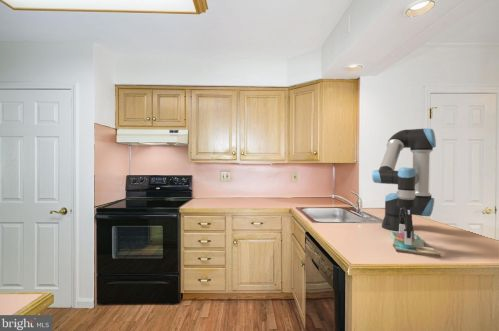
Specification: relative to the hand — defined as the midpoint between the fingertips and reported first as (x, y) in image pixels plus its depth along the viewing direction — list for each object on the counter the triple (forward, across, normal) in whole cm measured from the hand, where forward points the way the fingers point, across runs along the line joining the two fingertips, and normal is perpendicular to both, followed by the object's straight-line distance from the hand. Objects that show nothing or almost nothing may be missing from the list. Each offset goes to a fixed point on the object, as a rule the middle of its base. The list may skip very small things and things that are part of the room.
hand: (404, 240), depth 129 cm
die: (+4, -15, +4) cm, 16 cm away
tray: (+5, -16, +4) cm, 17 cm away
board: (+5, 0, +4) cm, 7 cm away
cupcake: (+4, 0, 0) cm, 4 cm away
